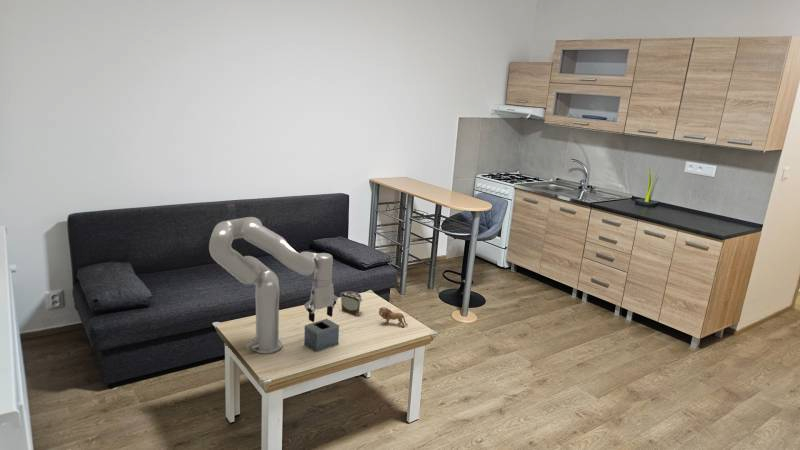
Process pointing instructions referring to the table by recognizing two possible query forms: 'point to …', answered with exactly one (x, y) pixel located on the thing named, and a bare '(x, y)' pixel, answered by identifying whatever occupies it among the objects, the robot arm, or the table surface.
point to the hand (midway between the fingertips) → (320, 318)
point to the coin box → (321, 335)
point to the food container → (350, 302)
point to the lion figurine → (391, 316)
